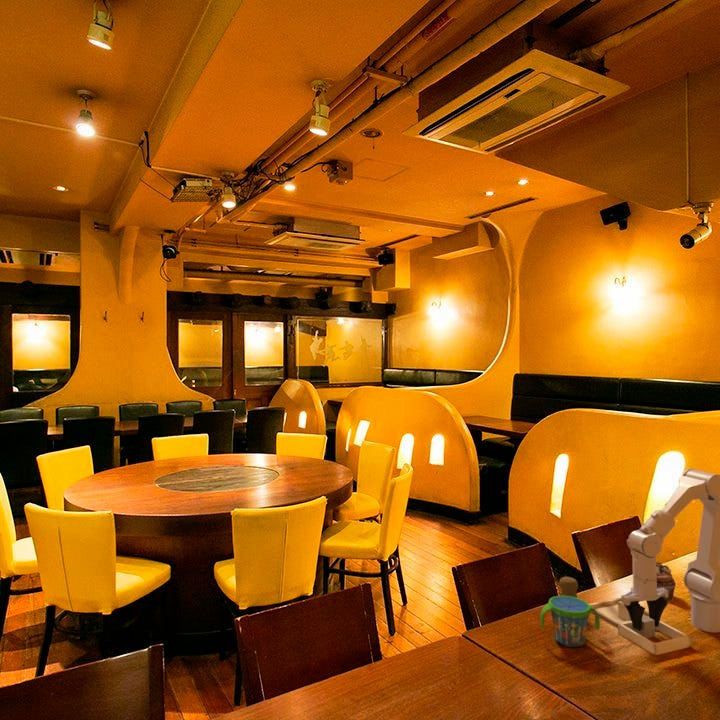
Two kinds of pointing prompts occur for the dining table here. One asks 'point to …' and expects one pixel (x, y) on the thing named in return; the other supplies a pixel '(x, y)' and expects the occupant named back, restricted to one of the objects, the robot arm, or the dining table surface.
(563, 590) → the cork
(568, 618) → the snack cup
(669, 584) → the cupcake
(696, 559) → the robot arm
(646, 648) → the pale wooden open box
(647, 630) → the grey rectangular prism
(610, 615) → the beech tray
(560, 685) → the dining table surface
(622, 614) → the beige cuboid
